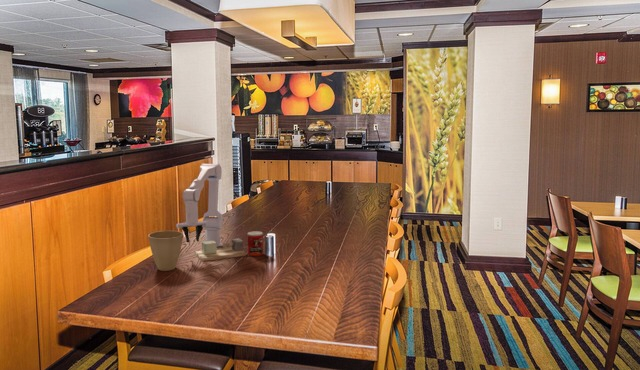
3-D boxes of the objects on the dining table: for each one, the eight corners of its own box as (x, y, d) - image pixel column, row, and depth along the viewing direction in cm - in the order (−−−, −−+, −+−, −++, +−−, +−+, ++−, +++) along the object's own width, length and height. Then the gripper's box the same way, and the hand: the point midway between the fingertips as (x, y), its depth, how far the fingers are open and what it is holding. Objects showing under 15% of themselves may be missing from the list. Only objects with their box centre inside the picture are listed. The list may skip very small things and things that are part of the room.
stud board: (194, 254, 249) (194, 241, 248) (236, 248, 259) (236, 236, 258) (202, 261, 237) (201, 248, 236) (245, 255, 247) (245, 242, 246)
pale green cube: (201, 251, 246) (201, 241, 245) (213, 250, 249) (213, 240, 248) (204, 254, 241) (204, 244, 241) (216, 252, 244) (216, 242, 244)
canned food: (248, 257, 244) (248, 235, 243) (246, 252, 252) (246, 231, 250) (264, 255, 246) (264, 234, 245) (261, 251, 254) (261, 230, 252)
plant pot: (148, 274, 216) (147, 239, 214) (150, 265, 230) (149, 231, 228) (184, 272, 220) (183, 237, 218) (184, 262, 234) (182, 229, 232)
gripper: (178, 216, 232) (179, 245, 234) (208, 214, 238) (209, 241, 240) (175, 214, 238) (176, 241, 240) (205, 211, 245) (205, 238, 246)
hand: (192, 241), depth 240 cm, fingers open, 4 cm apart
